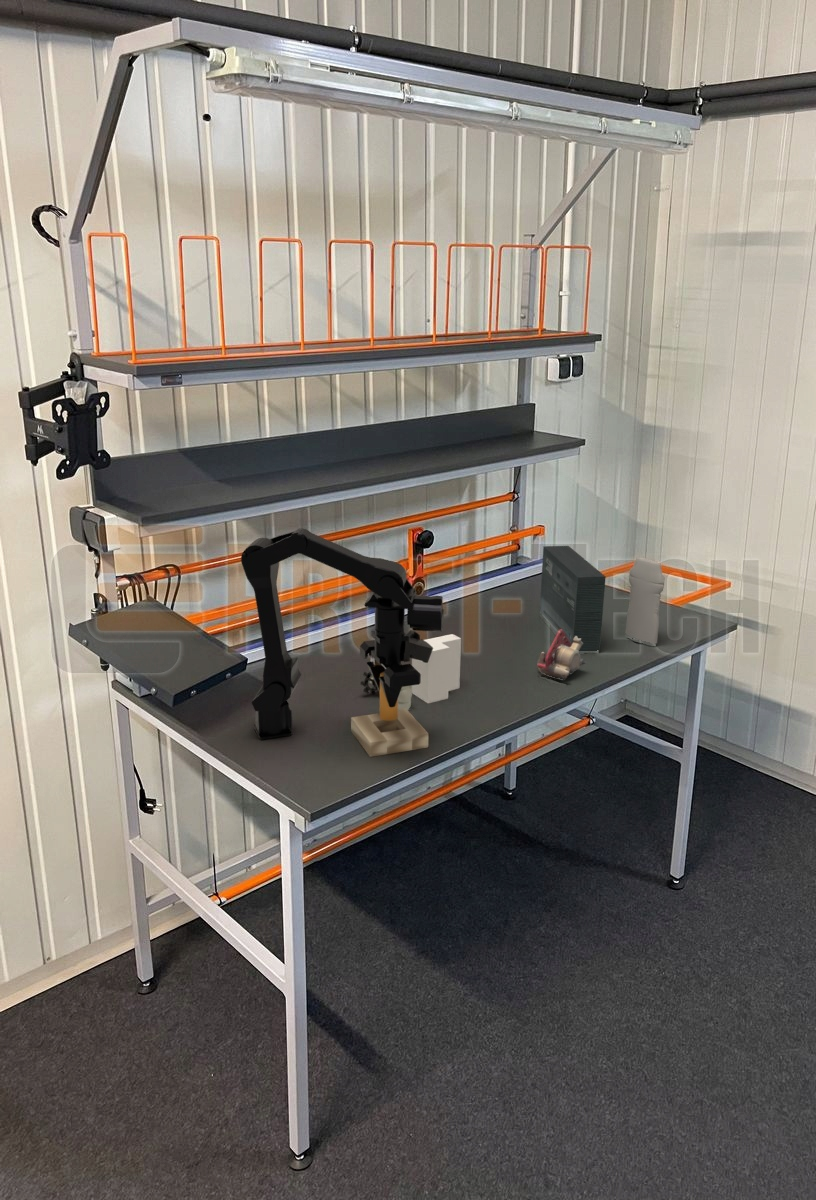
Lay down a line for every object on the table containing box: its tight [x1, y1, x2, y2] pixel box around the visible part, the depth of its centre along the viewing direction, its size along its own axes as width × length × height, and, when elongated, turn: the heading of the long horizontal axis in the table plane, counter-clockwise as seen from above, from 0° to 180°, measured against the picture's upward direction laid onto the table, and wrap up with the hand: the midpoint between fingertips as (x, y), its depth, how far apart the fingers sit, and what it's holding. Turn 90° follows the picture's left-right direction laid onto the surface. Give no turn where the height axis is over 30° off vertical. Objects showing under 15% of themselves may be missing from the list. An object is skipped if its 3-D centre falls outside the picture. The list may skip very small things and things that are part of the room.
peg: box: [379, 672, 398, 721], centre depth 189 cm, size 4×4×9 cm
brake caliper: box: [536, 629, 587, 681], centre depth 223 cm, size 11×11×12 cm
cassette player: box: [539, 545, 606, 651], centre depth 248 cm, size 29×7×20 cm, turn 9°
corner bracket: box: [411, 633, 462, 704], centre depth 214 cm, size 11×11×12 cm
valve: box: [360, 671, 413, 711], centre depth 208 cm, size 7×7×12 cm
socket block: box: [350, 709, 429, 758], centre depth 191 cm, size 12×12×3 cm
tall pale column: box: [624, 557, 665, 644], centre depth 243 cm, size 11×4×22 cm, turn 39°
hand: (388, 702), depth 189 cm, fingers closed on peg, 4 cm apart
